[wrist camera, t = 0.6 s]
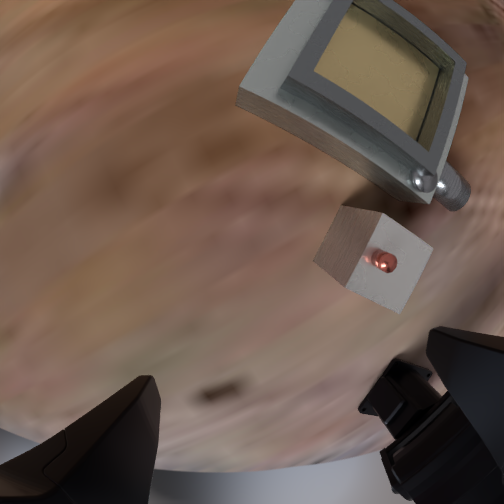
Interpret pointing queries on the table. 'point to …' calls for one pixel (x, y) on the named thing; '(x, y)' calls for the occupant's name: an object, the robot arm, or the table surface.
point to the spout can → (373, 256)
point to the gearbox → (366, 94)
